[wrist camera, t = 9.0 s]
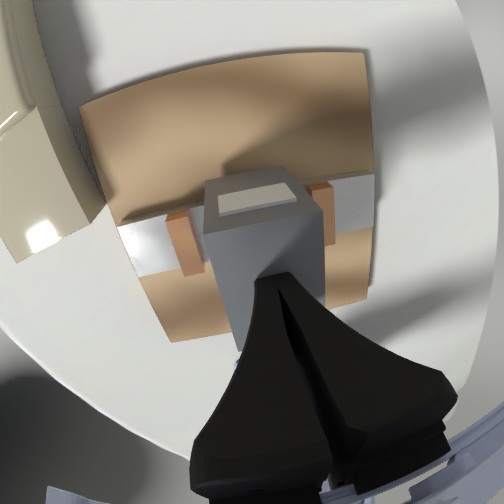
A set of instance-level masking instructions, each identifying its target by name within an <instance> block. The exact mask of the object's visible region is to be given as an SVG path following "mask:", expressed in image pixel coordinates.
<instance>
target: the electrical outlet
mask: <svg viewBox="0 0 504 504" xmlns="http://www.w3.org/2000/svg"><path fill="white" fill-rule="evenodd" d="M105 205H106V204H105V202H104V200H103V198H102V196H101V194H100V192H99V190H98V188H97V186H96V184H95V182H94V180H93V178H92V176H91V173H90V171H89V169H88V167H87V165H86V163H85V160H84V158H83V156H82V154H81V151H80V149H79V147H78V145H77V142H76V140H75V137H74V135H73V133H72V130H71V128H70V125H69V123H68V120H67V118H66V115H65V112H64V110H63V107H62V105H61V102H60V99H59V96H58V93H57V90H56V88H55V85H54V82H53V79H52V76H51V72H50V69H49V66H48V63H47V59H46V56H45V52H44V49H43V45H42V41H41V38H40V34H39V30H38V25H37V21H36V16H35V12H34V7H33V2H32V0H0V237H1V239H2V240H3V242H4V244H5V245H6V247H7V249H8V250H9V252H10V254H11V255H12V257H13V259H14V260H15V262H16V263H19V262H21V261H22V260H24V259H26V258H28V257H29V256H31V255H33V254H35V253H36V252H38V251H40V250H42V249H44V248H45V247H47V246H49V245H51V244H53V243H55V242H56V241H58V240H60V239H62V238H64V237H66V236H68V235H70V234H72V233H74V232H76V231H78V230H80V229H82V228H84V227H86V226H88V225H90V224H91V223H92V221H93V220H94V219H95V218H96V216H97V215H98V214H99V213H100V211H101V210H102V209H103V208H104V206H105Z"/></svg>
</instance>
